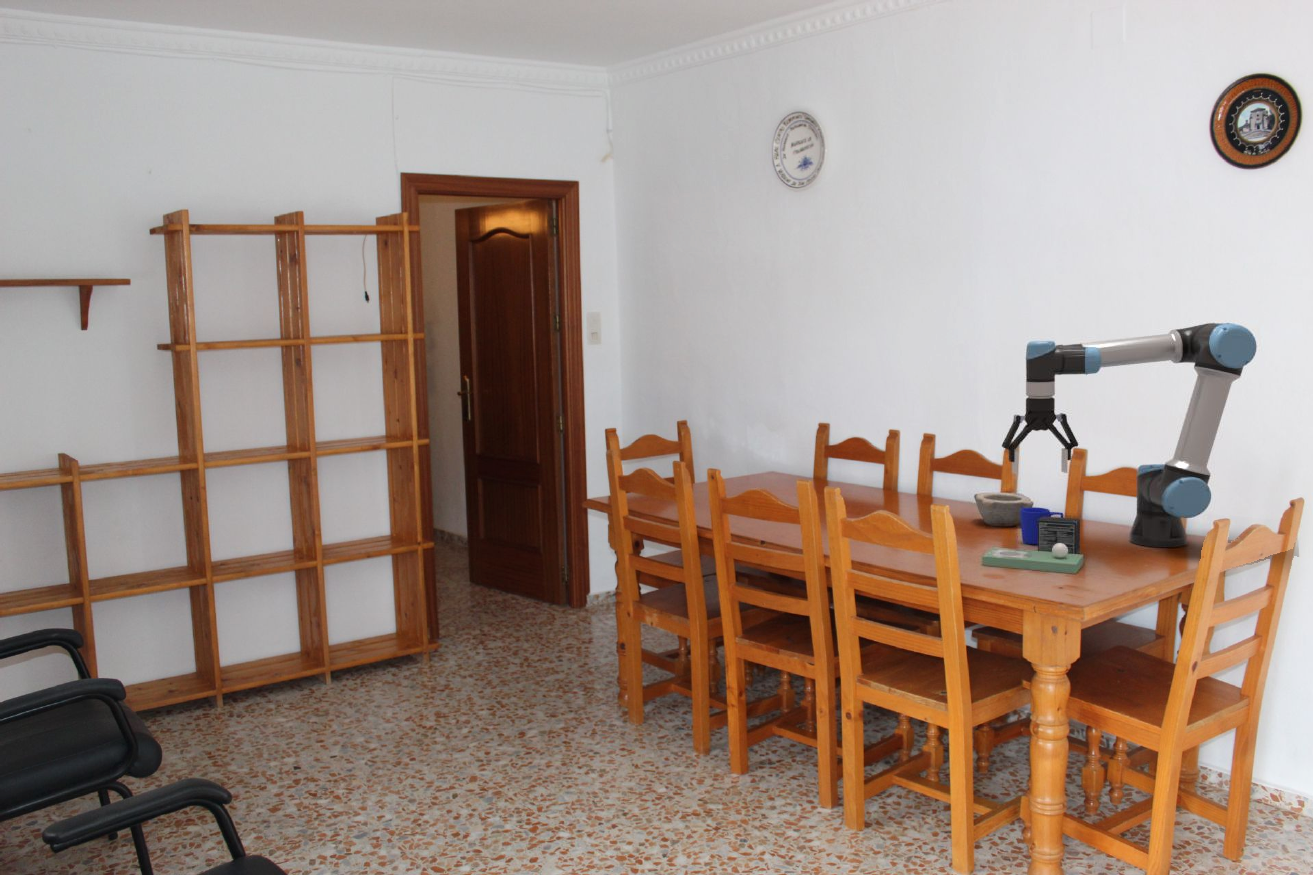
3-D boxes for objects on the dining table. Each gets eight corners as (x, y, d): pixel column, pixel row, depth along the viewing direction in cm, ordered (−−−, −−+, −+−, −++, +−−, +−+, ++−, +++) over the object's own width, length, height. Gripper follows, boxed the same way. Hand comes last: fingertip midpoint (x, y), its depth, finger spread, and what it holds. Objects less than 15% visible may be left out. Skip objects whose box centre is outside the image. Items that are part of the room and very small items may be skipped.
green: (1083, 563, 285) (1083, 554, 284) (1075, 573, 274) (1075, 564, 274) (992, 555, 297) (992, 547, 297) (982, 565, 287) (982, 556, 286)
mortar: (1035, 529, 330) (1036, 500, 329) (980, 529, 332) (980, 500, 331) (1024, 519, 346) (1024, 491, 345) (971, 519, 349) (971, 491, 348)
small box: (1080, 554, 295) (1081, 517, 294) (1076, 559, 290) (1077, 522, 289) (1041, 551, 301) (1041, 515, 300) (1036, 556, 295) (1037, 519, 294)
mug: (1065, 546, 306) (1065, 512, 304) (1021, 545, 308) (1022, 512, 307) (1060, 540, 314) (1061, 507, 312) (1018, 539, 316) (1018, 507, 315)
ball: (1069, 556, 283) (1069, 542, 282) (1066, 560, 279) (1066, 545, 279) (1053, 555, 285) (1053, 541, 284) (1050, 558, 281) (1050, 544, 281)
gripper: (1081, 394, 294) (1080, 469, 296) (990, 397, 295) (990, 472, 297) (1091, 396, 286) (1090, 473, 289) (998, 399, 287) (998, 476, 290)
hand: (1039, 472), depth 293 cm, fingers open, 13 cm apart
